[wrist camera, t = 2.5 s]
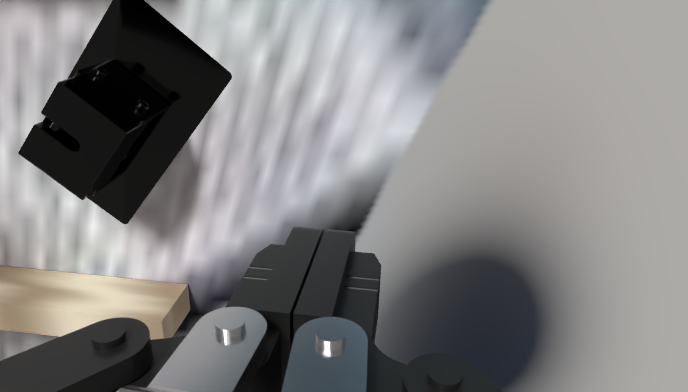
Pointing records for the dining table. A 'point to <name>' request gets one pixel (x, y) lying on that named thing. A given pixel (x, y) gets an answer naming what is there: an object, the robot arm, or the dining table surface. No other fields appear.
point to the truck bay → (86, 302)
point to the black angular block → (125, 109)
